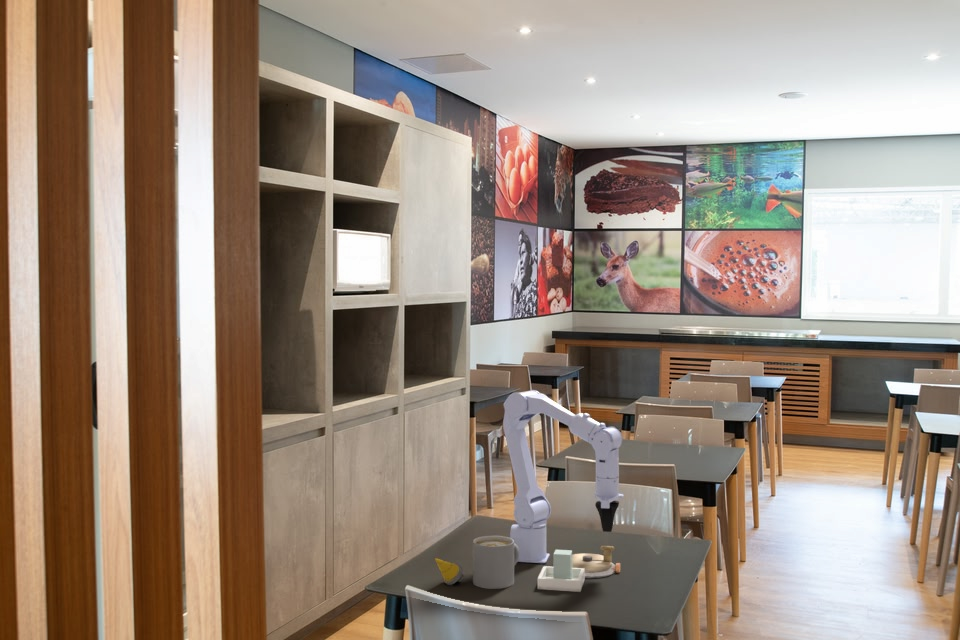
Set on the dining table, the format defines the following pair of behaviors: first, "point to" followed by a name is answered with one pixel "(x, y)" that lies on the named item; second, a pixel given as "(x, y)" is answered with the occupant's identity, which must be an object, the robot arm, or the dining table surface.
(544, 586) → the tray
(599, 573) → the crank base
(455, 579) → the yellow and grey cone
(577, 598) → the dining table surface
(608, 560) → the crank
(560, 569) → the block
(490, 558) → the coffee mug
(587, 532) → the dining table surface
